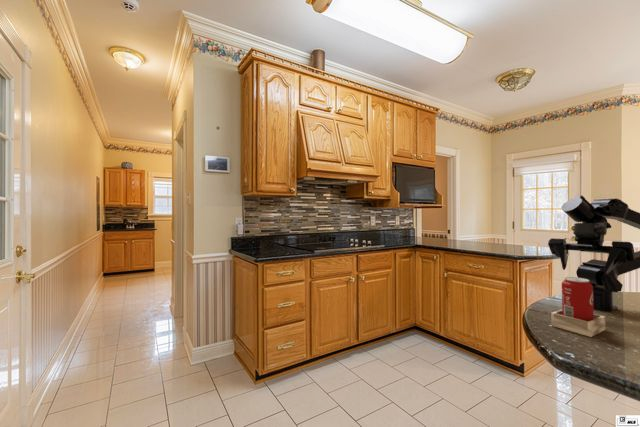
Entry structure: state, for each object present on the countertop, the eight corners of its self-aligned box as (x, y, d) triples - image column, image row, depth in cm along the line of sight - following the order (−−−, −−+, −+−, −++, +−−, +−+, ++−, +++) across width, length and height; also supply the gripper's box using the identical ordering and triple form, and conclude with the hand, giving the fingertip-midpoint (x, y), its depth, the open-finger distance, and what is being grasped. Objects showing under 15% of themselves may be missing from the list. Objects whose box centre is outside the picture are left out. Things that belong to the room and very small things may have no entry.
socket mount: (566, 319, 83) (565, 307, 83) (605, 329, 76) (604, 316, 76) (551, 325, 79) (551, 313, 79) (591, 336, 72) (590, 322, 72)
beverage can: (600, 328, 74) (599, 281, 74) (573, 328, 75) (572, 281, 75) (581, 319, 81) (580, 276, 81) (556, 319, 81) (555, 276, 81)
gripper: (549, 213, 95) (537, 250, 89) (632, 212, 80) (625, 257, 74) (557, 236, 100) (547, 272, 93) (637, 239, 85) (631, 283, 78)
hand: (583, 271), depth 85 cm, fingers open, 9 cm apart
